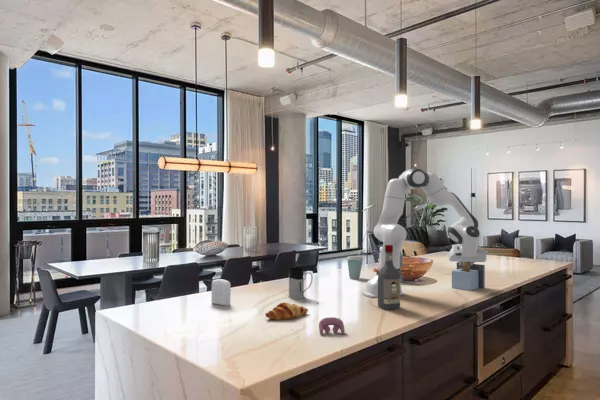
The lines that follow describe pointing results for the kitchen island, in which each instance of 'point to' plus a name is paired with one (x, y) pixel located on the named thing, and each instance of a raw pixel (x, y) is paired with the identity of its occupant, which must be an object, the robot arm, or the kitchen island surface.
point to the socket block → (465, 279)
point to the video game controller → (331, 321)
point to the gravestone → (221, 292)
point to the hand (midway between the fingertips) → (465, 264)
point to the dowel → (466, 266)
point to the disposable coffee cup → (354, 266)
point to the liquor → (389, 283)
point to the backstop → (481, 272)
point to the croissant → (286, 311)
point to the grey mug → (297, 283)
